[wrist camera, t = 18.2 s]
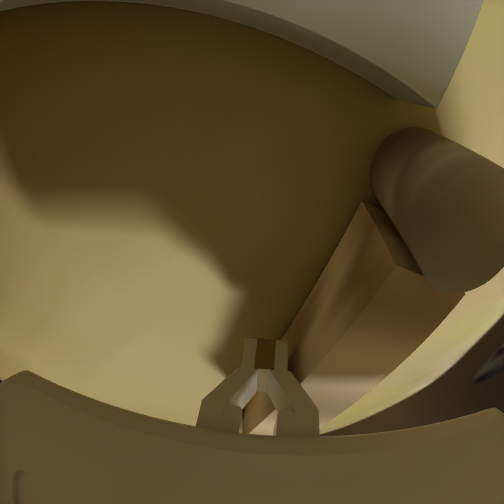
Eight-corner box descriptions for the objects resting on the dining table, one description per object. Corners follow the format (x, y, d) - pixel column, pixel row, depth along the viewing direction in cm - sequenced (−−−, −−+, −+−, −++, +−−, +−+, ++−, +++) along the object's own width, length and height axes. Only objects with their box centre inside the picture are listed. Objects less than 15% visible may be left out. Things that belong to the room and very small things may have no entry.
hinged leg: (394, 109, 8) (466, 134, 4) (465, 155, 8) (539, 206, 4) (238, 393, 18) (229, 450, 15) (285, 403, 19) (282, 458, 15)
